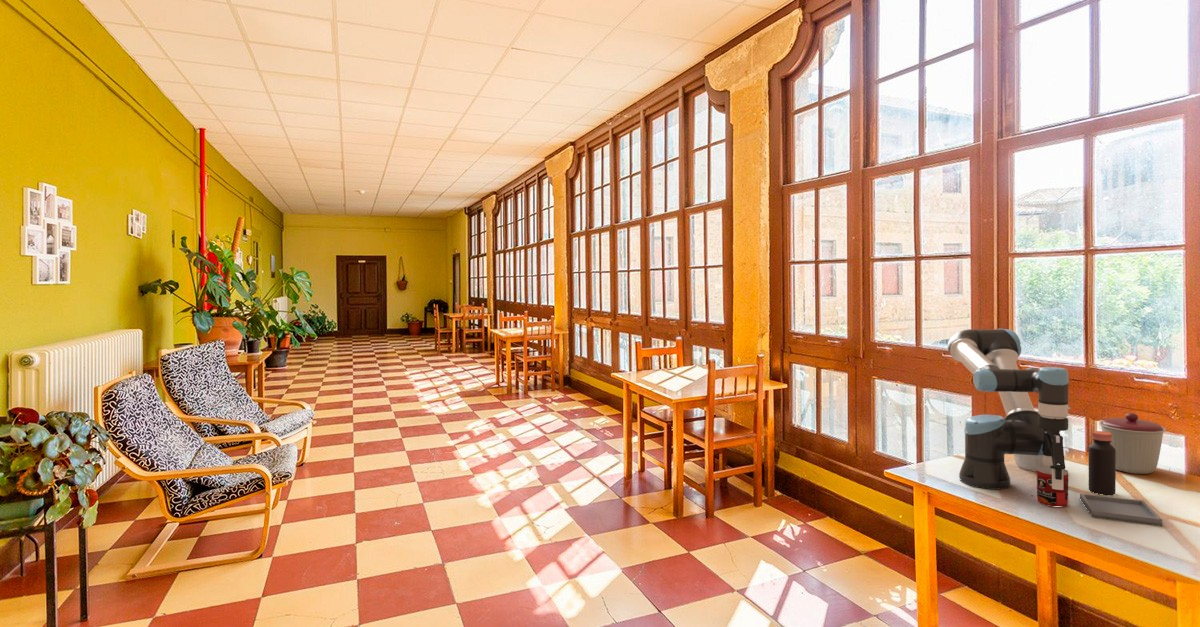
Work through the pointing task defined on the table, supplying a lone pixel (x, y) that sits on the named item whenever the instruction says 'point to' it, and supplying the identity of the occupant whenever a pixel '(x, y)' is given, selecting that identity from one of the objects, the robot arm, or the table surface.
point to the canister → (1135, 443)
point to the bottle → (1102, 464)
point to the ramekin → (1029, 461)
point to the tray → (1120, 509)
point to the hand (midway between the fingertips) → (1053, 482)
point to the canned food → (1045, 488)
